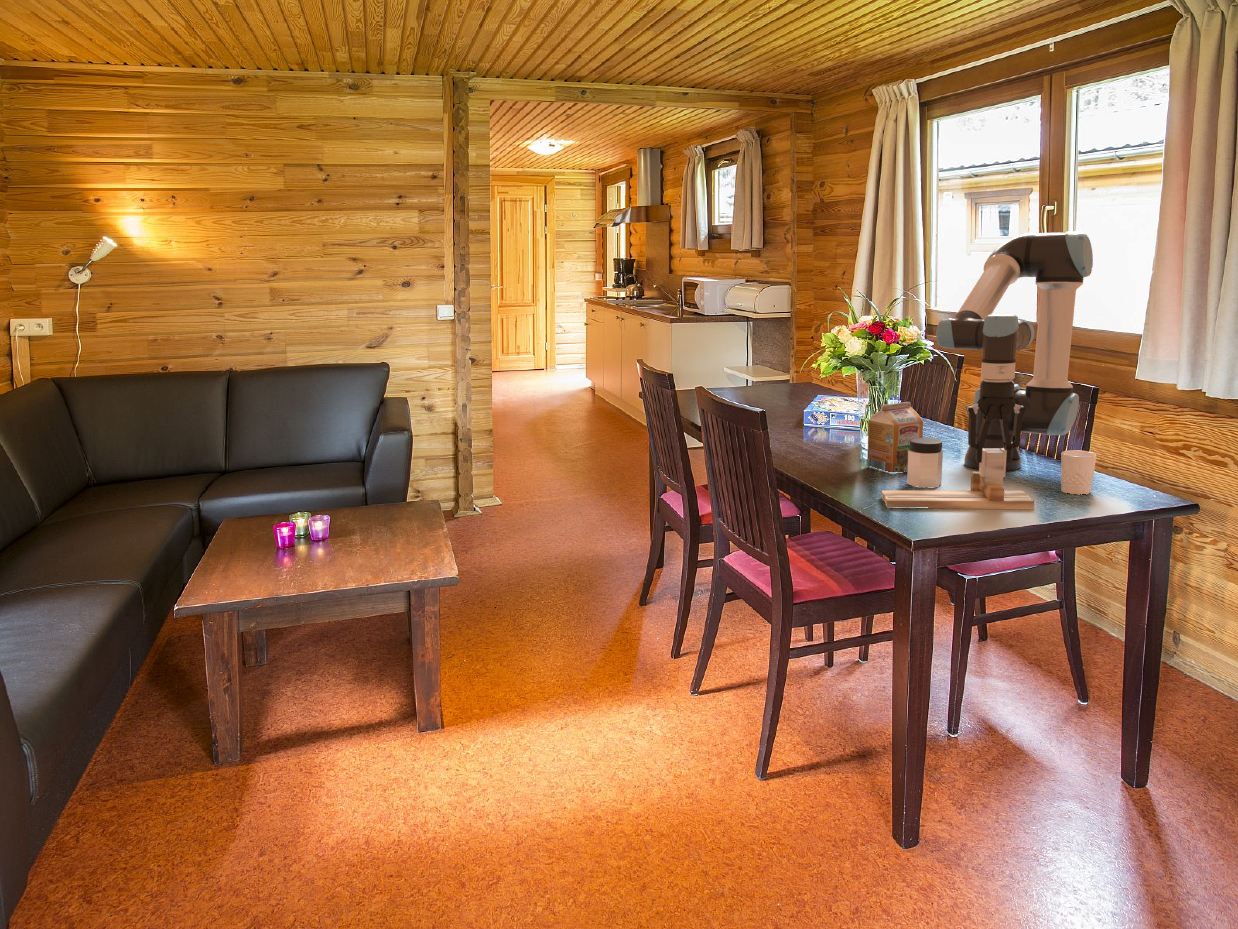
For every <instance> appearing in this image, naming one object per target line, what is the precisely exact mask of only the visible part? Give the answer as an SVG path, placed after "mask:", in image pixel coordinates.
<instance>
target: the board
mask: <svg viewBox="0 0 1238 929" xmlns="http://www.w3.org/2000/svg"><path fill="white" fill-rule="evenodd" d="M881 496H882V498H883V500H884V502H885V503H886V506H887V507H928V508H947V509H946V510H951V509H952V510H1034V508H1035V500H1033V498H1031V497H1030V496H1029V495H1028V494H1027V493H1025V492H1024V491H1023V490H1004V501H990V500H989V499H988V498H987V497H986V496H985V495H984V494H983V493H982V492H981V491H971V490H918V489H917V490H913V489H912V490H910V489H909V490H905V489H904V490H902V489H901V490H897V489H896V490H891V489H888V490H887V489H886V490H883V489H882V490H881ZM881 496H880V497H881ZM882 498H881V499H882ZM883 500H882V501H883ZM884 502H883V503H884ZM886 506H885V507H886Z"/></svg>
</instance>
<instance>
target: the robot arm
mask: <svg viewBox="0 0 1238 929" xmlns="http://www.w3.org/2000/svg"><path fill="white" fill-rule="evenodd" d="M1093 259H1094V256H1093V248H1092V243H1091V240H1090V237H1089V235H1088V234H1086V233H1085V232H1082V231H1068V230H1067V231H1058V232H1055V231H1054V232H1040V233H1039V232H1037V233H1036V232H1035V233H1033V232H1031V233H1030V232H1029V233H1024V234H1020V235H1017V236H1015V237H1013V238H1010V239H1009V240H1007V241H1005V242H1004V243H1002V244H1001V245H1000V246H998V247H997V248H995V250H993V252H992V253H991V254H990V255H989V256H988V257H987V259H986V261H985V262H984V265H983V273H982V274H981V276H980V277H979V279H978V280H977V282H976V283H975V285H974V286H973V288H972V290H971V291H970V293H969V294H968V296H967V297H966V299H965V301H964V303H962V305H961V307H960V309H959V310H958V311H957V313H956V314H955V316H954V318H951V317H950V318H943V319H941V320H940V321H939V322H938V324H937V327H936V331H935V337H936V343H937V345H938V346H939V347H941V348H942V349H951V350H978V351H981V370H980V379H982V380H981V381H980V382H979V383H980V386H979V388H978V389H976V390H975V392H974V400H973V403H972V405H967V406H966V407H965V409H966V412H967V415H968V417H967V418H968V424H967V425H968V430H967V432H968V434H967V444H968V448H967V450H966V453H965V454H964V463H963V464H964V465H965V467H968V468H971V469H975V470H978V472H979V475H980V476H981V477H985V462H986V450H985V449H984V448H999V449H1001V450H1002V451H1003V452H1004V453H1005V457H1004V473H1003V478H1006V472H1007V471H1015V470H1018V469H1021V467H1022V458H1021V457H1022V456H1021V454H1020V453H1021V452H1020V449H1019V447H1020V446H1021V438H1022V433H1026V434H1027V433H1028V434H1038V435H1047V436H1064V435H1066V434H1069V432H1070V431H1071V430H1072V428H1073V426H1074V424H1075V421H1076V419H1077V415H1078V410H1079V408H1080V407H1079V406H1080V401H1079V400H1080V396H1079V394H1078V393H1075V392H1073V391H1074V386H1073V385H1072V384H1071V382H1069V380H1068V379H1069V378H1068V377H1069V366H1070V356H1071V347H1072V346H1071V345H1072V336H1073V326H1074V315H1075V314H1074V313H1075V306H1076V305H1075V304H1076V294H1077V290H1078V289H1079V288H1080V287H1082V286H1083V284H1084V278H1087V277H1089V276H1090V275H1091V274H1092V273H1093V272H1092V271H1093V264H1094V263H1093V261H1094V260H1093ZM1021 278H1035V285H1036V286H1037V287H1038V288H1039V290H1040V294H1039V295H1040V297H1039V298H1040V299H1039V307H1038V316H1037V317H1038V319H1037V329H1036V331H1037V332H1036V342H1035V353H1034V362H1033V375H1032V376H1033V377H1032V378H1031V380H1030V381H1029V382H1027V383H1026V386H1025V390H1022V389H1021V387H1020V385H1019V384H1017V383H1015V382H1014V379H1015V378H1016V363H1017V362H1016V360H1017V352H1018V351H1021V350H1022V351H1023V350H1024V349H1025V348H1027V347H1028V346H1030V345H1031V344H1032V342H1033V341H1034V338H1035V329H1034V327H1033V325H1032V323H1030V322H1029V321H1028V320H1026V319H1022V318H1019V317H1018V316H1017V315H1016V314H1010V313H994V311H995V309H996V308H997V307H998V304H999V303H1000V301H1001V300H1002V298H1003V296H1004V295H1005V293H1006V292H1007V289H1008V288H1009V287H1010V285H1012V284H1014V283H1017V280H1018V279H1021ZM993 313H994V314H993Z"/></svg>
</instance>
